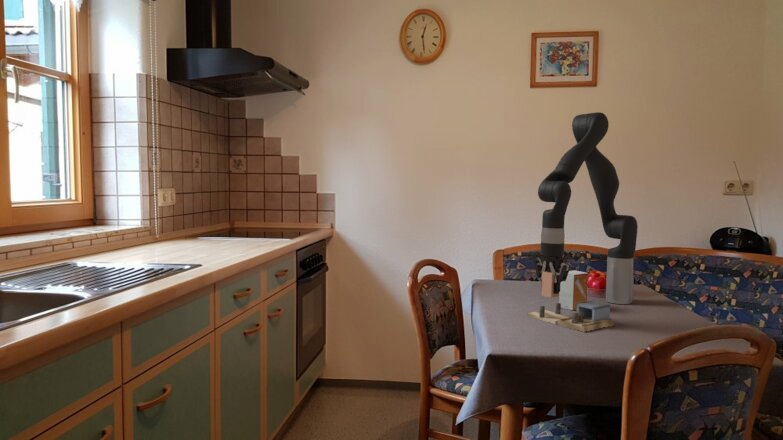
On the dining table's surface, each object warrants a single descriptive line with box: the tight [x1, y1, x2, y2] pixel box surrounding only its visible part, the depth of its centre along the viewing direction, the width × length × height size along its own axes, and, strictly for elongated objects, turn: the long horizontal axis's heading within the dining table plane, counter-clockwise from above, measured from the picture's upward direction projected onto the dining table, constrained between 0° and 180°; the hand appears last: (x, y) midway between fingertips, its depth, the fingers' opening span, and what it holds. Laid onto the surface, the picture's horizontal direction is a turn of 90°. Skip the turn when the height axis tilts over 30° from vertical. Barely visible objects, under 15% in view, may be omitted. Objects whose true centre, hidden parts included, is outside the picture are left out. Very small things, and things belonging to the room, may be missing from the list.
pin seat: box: [526, 302, 571, 325], centre depth 186 cm, size 10×12×4 cm
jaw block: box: [541, 271, 560, 298], centre depth 185 cm, size 4×4×8 cm
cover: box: [576, 300, 611, 322], centre depth 180 cm, size 8×7×5 cm
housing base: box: [557, 311, 615, 333], centre depth 178 cm, size 15×10×4 cm, turn 124°
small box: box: [558, 270, 589, 311], centre depth 202 cm, size 8×6×13 cm
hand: (550, 292), depth 186 cm, fingers closed on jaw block, 4 cm apart
